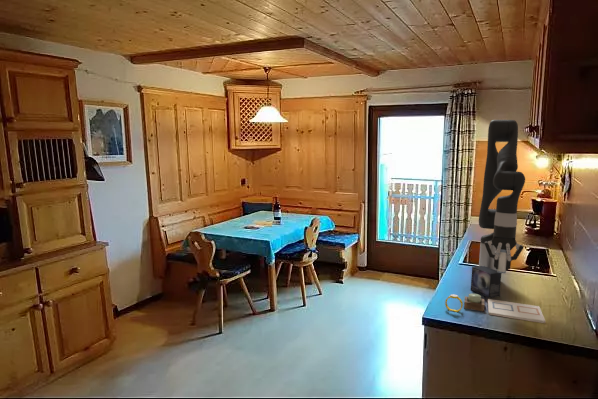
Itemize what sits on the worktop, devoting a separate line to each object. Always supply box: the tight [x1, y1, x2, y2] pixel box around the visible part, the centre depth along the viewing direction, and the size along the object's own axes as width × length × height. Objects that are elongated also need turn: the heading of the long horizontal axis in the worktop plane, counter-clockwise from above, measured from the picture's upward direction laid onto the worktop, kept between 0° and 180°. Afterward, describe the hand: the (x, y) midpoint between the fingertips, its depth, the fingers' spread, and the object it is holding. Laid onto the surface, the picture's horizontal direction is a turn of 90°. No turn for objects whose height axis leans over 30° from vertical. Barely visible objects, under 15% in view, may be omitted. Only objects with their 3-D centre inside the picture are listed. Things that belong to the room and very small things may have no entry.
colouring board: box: [487, 298, 547, 324], centre depth 157 cm, size 16×18×1 cm
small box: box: [470, 265, 503, 299], centre depth 177 cm, size 11×6×10 cm, turn 21°
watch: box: [444, 293, 464, 313], centre depth 155 cm, size 6×3×6 cm, turn 60°
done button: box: [467, 293, 482, 303], centre depth 160 cm, size 4×4×3 cm
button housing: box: [463, 295, 486, 312], centre depth 160 cm, size 7×7×2 cm
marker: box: [497, 249, 507, 274], centre depth 159 cm, size 3×3×9 cm
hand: (501, 269), depth 159 cm, fingers closed on marker, 3 cm apart
